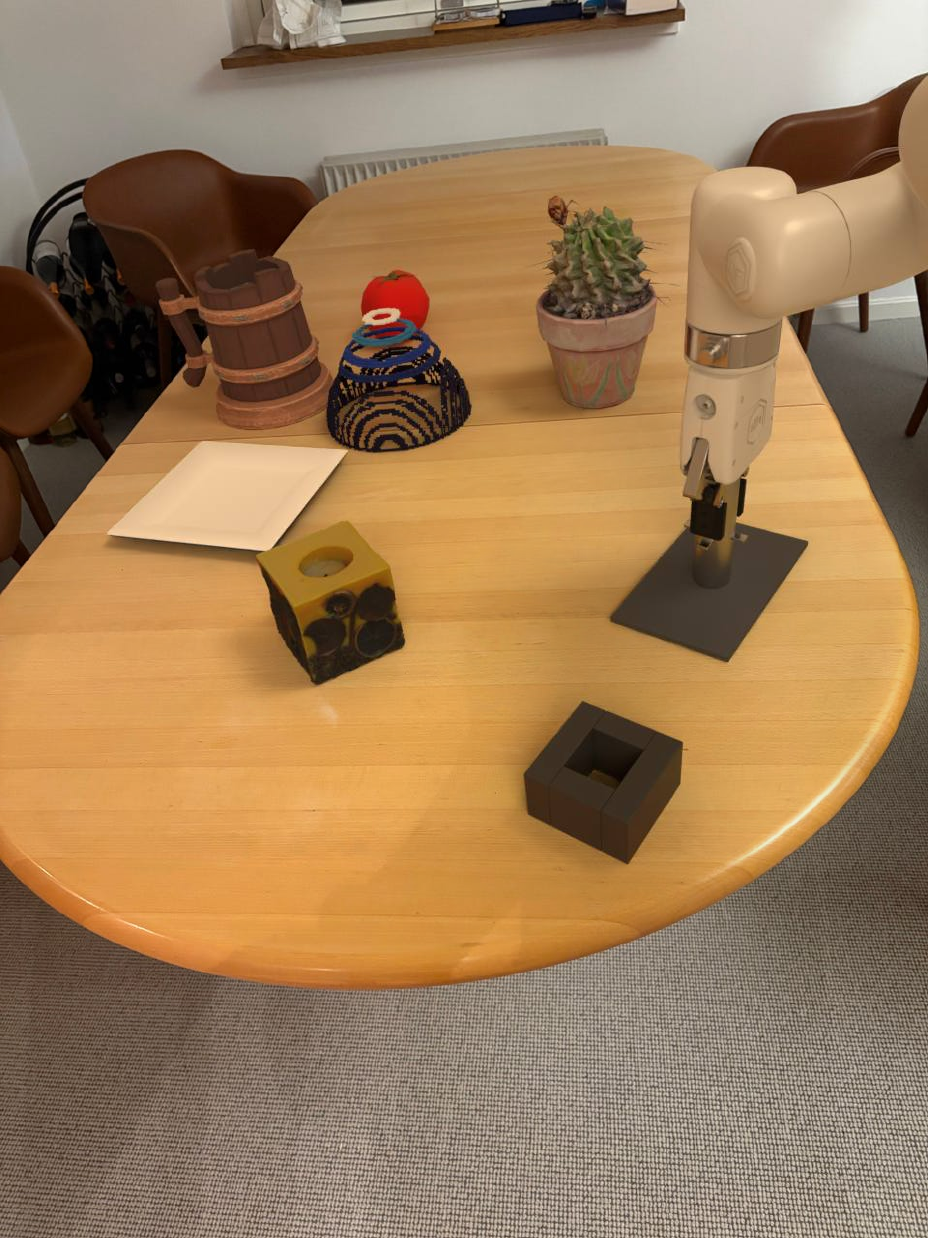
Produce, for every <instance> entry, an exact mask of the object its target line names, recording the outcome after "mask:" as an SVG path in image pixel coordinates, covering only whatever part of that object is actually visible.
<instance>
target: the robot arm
mask: <svg viewBox="0 0 928 1238" xmlns="http://www.w3.org/2000/svg"><path fill="white" fill-rule="evenodd" d="M897 145H898V153H899V154H898V156H899V160H900V161H899V162H897V163H895V164H893V165H892V166H890V167H888V168H886V169H884V170H883V171H880V172H877V173H875V174H871V175H868V176H864V177H860V178H856V179H851V180H847V181H842V182H838V183H835V184H830V185H827V186H823V187H819V188H816V189H812V190H808V191H805V192H802V193H798V191H797V185H796V183H795V181H794V180H793V178H792V177H791V175H789V174H787V173H786V172H785V171H783V170H779V169H776V168H772V167H765V166H742V167H741V166H740V167H732V168H728V169H723V170H720V171H717V172H714V173H712V174H710V175H708V176H706V177H704V178H703V179H702V180H701V181H700V182H699V183H698V184H697V185H696V187H695V189H694V191H693V193H692V198H691V201H690V202H691V203H690V215H689V216H690V218H689V219H690V220H689V238H688V239H689V242H688V265H687V285H686V287H687V288H686V307H685V308H686V309H685V323H684V325H685V326H684V345H683V346H684V347H683V358H684V359H683V360H684V361H685V363H686V364H688V366H689V367H688V372H687V378H686V385H685V390H684V391H685V392H684V399H683V405H682V415H681V424H680V435H679V469H680V471H681V474H682V475H684V476H686V478H685V482H684V486H683V489H682V497H683V498H687V499H689V501H690V503H691V504H690V519H689V520H690V532H691V533H692V534H695V535H698V536H702V537H706V538H709V539H713V540H716V541H721V540H722V539H723V537H724V535H725V524H726V513H727V503H726V502H723V501H724V494H725V488H726V485H729V484H732V483H733V482H735V481H736V480H737V479H738V478H739V477H740V476H741V477H740V487H739V497H738V507H737V517H736V518H739V517H741V516H742V515H743V514H744V512H745V501H746V493H747V492H746V491H747V482H748V479H747V478H746V477H747V476H748V474H749V472H750V466H751V465H752V463H753V462H754V461H755V460H756V458H757V457H758V456H759V455H760V454H761V453H762V451H764V449H765V447H766V446H767V445H768V443H769V441H770V439H771V437H772V433H773V423H774V411H775V395H776V380H777V361H778V358H779V355H780V346H781V345H780V344H781V336H782V330H783V329H782V328H783V321H784V318H785V317H788V316H792V315H796V314H799V313H802V312H806V311H810V310H813V309H817V308H821V307H823V306H825V305H828V304H831V303H834V302H835V303H836V302H838V301H842V300H847V299H849V298H852V297H857V296H859V295H862V294H867V293H871V292H873V291H877V290H882V289H884V288H885V289H886V288H888V287H890V286H894V285H896V284H899V283H901V282H904V281H906V280H909V279H912V278H913V277H915V276H917V275H919V274H921V273H924V272H926V271H927V270H928V74H927V75H926V76H925V77H924V78H923V79H922V80H921V82H920V83H919V84H917V87H916V88H915V89H914V91H913V92H912V93H911V96H910V97H909V99H908V101H907V103H906V105H905V107H904V109H903V112H902V115H901V118H900V123H899V130H898V144H897ZM708 466H710V468H708ZM705 479H708V480H712V481H716V485H715V491H714V490H713V489H712V488H711V487H707V486H704V481H705Z"/></svg>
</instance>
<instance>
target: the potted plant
mask: <svg viewBox="0 0 928 1238" xmlns="http://www.w3.org/2000/svg"><path fill="white" fill-rule="evenodd" d="M572 203H575V204H576V205H579V206H580V204H579V203H578V202H576V201H574V200H573V199H570V201H569V202H568V204H567V205H566V202H565V200H564V199H563V198H562V197H560V196H558V195H554V196H552V197H550V198H549V199H548V203H547V204H548V205H547V214H548V216H549V217H550V222H551V223H552V224H554V225H555V226H556V227H558V228H559V229H560V230H562V232H563V238H562V240H555V239H552V240H551V241H550V242H548V243H547V242H546V245H549V246H551V247H550V249H551V251H548V252H547V254H550V253H551V257H552V258H551V259H548V260H546V261H545V260H544V261H543V262H539V263H535V264H532V265H529V266H526V267H523V268H521V269H518V270H517V272H518V271H520V270H524V269H527V268H529V267H533V266H536V265H540V264H544V263H547V262H548V263H547V266H545V267H543V268H541V269H539V271H541V270H544V269H545V270H546V269H548V270H550V271H551V272H550V273H547V274H546V276H548V275H553V274H554V275H555V277H554V278H553V279H552V280H551V282H550V283H549V282H547V286H545V287H544V290H545V291H543V292H542V293H541V295H540V296H539V297H538V298H537V300H536V303H535V311H536V317H537V323H538V330H539V333H540V334H539V335H540V337H541V338H542V341H544V342H545V343H546V345H547V348H548V352H549V356H550V359H551V362H552V365H553V369H554V373H555V376H556V379H557V382H558V385H559V388H560V392H561V395H562V398H563V400H564V401H565V402H566V403H568V404H569V405H571V406H574V407H577V408H582V409H591V410H592V409H594V410H598V409H603V408H604V409H605V408H610V407H613V406H618V405H622V404H623V403H624V402H626V401H627V400H630V399H631V397H632V396H633V394H634V392H635V390H636V389H635V388H636V385H637V381H638V377H639V373H640V369H641V365H642V361H643V357H644V352H645V349H646V345H647V341H648V338H649V335H650V334H651V333H652V332H654V327H655V320H656V312H657V306H658V305H657V304H658V301H660V302H661V303H663V300H662V299H669V301H671V299H670V298H669V297H668V296H664V297H663V296H660V297H658V293H657V292H656V290H655V288H654V286H653V285H656V284H657V285H658V284H659V285H660V284H661V285H662V284H663V285H665V284H666V283H664V282H663V283H662V282H651V280H652V279H651V278H648V279H646V278H643V277H642V276H641V275H640V274H641V273H643V272H645V273H647V274H648V272H652V273H654V274H657V275H659V273H657V272H656V271H652V270H651V269H647V267H648V265H647V263H645V262H644V260H642V259H641V258H640V257H639V256H638V255H640V254H641V253H644V254H647V252H646V251H643V250H644V249H645V250H654V251H657V249H656V248H651V247H649V246H645V243H648V241H647V240H643V237H641V236H635V234H634V230H633V225H634V224H633V223H634V221H633V220H634V219H632V217H631V216H629V217H628V218H622V219H618V218H616V217H615V215H614V212H613V210H612V209H611V208H608V207H607V206H605V205H604V207H603V210H602V214H599V215H596V213H595V212H594V211H593V209H592V208H591V207H589V210H588V209H587V210H586V211H585V212H584V214H583V215H582V214H581V213H579V212H578V211H575V210H572V211H571V209H570V208H569V206H570V205H571V204H572ZM568 208H569V209H568ZM571 212H573V213H574V214H573V219H572V217H570V218H571V223H570V225H567V220H568V214H570V216H572V213H571ZM574 218H576V220H575V219H574ZM649 243H652V244H654V241H649ZM658 244H659V245H662V243H661V242H660V243H659V242H657V245H658ZM665 245H666V246H667V245H669V244H667V243H665ZM658 251H660V252H661V250H659V249H658ZM554 252H555V253H556V254H555V255H554ZM665 253H667V254H668V252H666V251H665ZM669 285H672V286H675V284H673V283H671V284H670V283H669ZM676 286H678V287H680V284H679V285H678V284H676ZM664 305H665V306H667V304H666V303H664ZM667 307H668V306H667Z"/></svg>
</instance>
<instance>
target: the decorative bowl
mask: <svg viewBox="0 0 928 1238" xmlns="http://www.w3.org/2000/svg"><path fill="white" fill-rule="evenodd" d="M385 313H389V314H391V317H388V318H384V319H380V320H374V319H373V318H372V317H374V316H375V315H377V314H385ZM399 317H400V312H399V309H398V310H397V309H395V308H392V309H390V308H384V309H378V310H372V311H369V313H367V314H366V315H364V317H362V323H363V322H364V324H362V325H361V326H359V328H358V329H356V330H355V332H352V334H351V338H352V339H351V341H350V342H349V343H348V344H347V345H346V346H345V347H344V349H343V352H342V356H341V357H340V360H339V363H338V369H337V374H336V376H335V377H334V378H333V379H334V382H333V384H332V386H331V387H330V389H329V392H328V393H329V395H328V403H327V405H328V406H327V407H326V408H325V410H326V411H325V418H326V426H327V430H328V433H329V435H330V438H331V439H334V442H336V443H338V444H339V445H342V447H345V448H347V449H353V450H354V451H358V452H362V451H365V452H367V453H373V454H375V453H387V452H388V453H389V452H400V451H401V452H403V451H409V450H415V449H416V448H420V447H426V446H428V445H429V446H430V444H432V443H436V442H438V441H440V440H444V439H445V437H447V436H451V434H453V433H456V432H457V431H458V430H459V429H460V428H461V427H463V426H464V424H465V422H467V420H469V416H471V413H472V404H471V399H470V393H469V390H468V389H467V386H466V382H465V379H464V378H463V377H461V375H460V372H459V370H458V369H457V368H456V367H455V365H454V364H453V363H452V361H451V360H450V359H447V357H446V356H444V357H443V358H442V362H441V361H440V360H441V354H442V350H441V349H440V347H439V345H438V344H437V343H435V341H433V340H432V339H431V336H430V335H429V334H427V333H426V332H424V330H421V329H420V330H419V329H417V327H415V325H414V323H412V321H409V320H407V319H405V320H404V319H399ZM390 322H399V323H402V324H403V323H404V324H405V325H406V327H401V326H399V327H388V328H382V329H378V330H374V331H370V330H369V331H367V332H366V331H365V330H367V329H369V328H368V327H371V326H374V325H384V324H386V323H390ZM366 324H367V325H366ZM364 331H365V332H364ZM398 331H400V332H404V333H402V334H400V335H392V336H383V337H378V338H377V337H375V338H371V337H374V336H375V335H377V334H385V333H387V332H398ZM414 333H416V334H415V335H413V334H414ZM408 340H409V341H419V342H420V343H419V344H418V346H417V347H413V346H412V345H410V346H407V345H402V346H392V347H391V345H395V344H400V343H402V342H405V341H408ZM354 345H355V346H354ZM385 346H389V347H387V348H382V350H379V351H378V352H374V353H373V355H372V356H369V357H365V358H363V357H361V356H359V355H356V354H354V353H355V352H358V350H362V349H364V348H365V347H371V348H373V347H374V348H375V347H385ZM431 347H432V349H433V351H432V354H431V352H428V350H430V349H431ZM344 362H346V363H348V364H349V365H348V364H344ZM352 366H355V367H357V368H360V372H357V373H355V372H354V370H353V368H352ZM390 369H391V370H390ZM389 370H390V371H389ZM387 372H388V373H387ZM437 374H438V375H437ZM426 376H428V378H430V382H429V380H427V377H426ZM433 377H434V378H433ZM438 377H439V379H438ZM407 379H412V380H413V381H404V382H402V381H403V380H407ZM348 381H351V382H350V383H348ZM400 381H401V382H400ZM384 383H385V384H384ZM341 384H342V386H343V388H342V387H341ZM357 385H358V386H357ZM426 385H427V386H432V387H439V394H440V395H439V397H440V406H442V407H440V410H441V419H440V413H438V410H435V406H433V405H432V404H430V403H428V400H427V399H425V398H424V397H423V398H421V396H419V394H413V393H412V394H410V391H408V390H407V389H403V390H400V391H395V390H394V389H391V390H385V389H389V388H399V387H402V386H403V387H405V386H426ZM364 386H365V388H364ZM448 391H449V392H448ZM334 392H335V393H334ZM352 392H353V394H352ZM446 393H449V400H448V394H446ZM397 395H400V397H406V398H411V400H413V401H409V402H408V400H404V399H403V398H398V399H397V398H396V400H385V401H384V400H383V401H373V400H372V401H366V400H369V399H370V398H372V397H373V398H385V397H395V396H397ZM355 401H356V402H355ZM448 401H449V403H448ZM458 401H459V402H458ZM350 403H353V404H352V405H351V406H350V407H349V408H348V410H347V411H346V412H345V414H344V415H343V419H342V422H340V415H339V414H340V413H341V411H342V410H343V409H344V408H345V407H347V406H348V405H349V404H350ZM364 403H365V404H364ZM458 403H459V405H458ZM391 404H394V405H395V406H400V408H402V409H403V408H404V409H405V410H407V411H408V412H409V413H414V415H416V416H417V417H419V418H420V419H421V420H423V423H424V424H426V427H429V428H428V429H429V433H427V430H426V429H424V427H421V424H420V423H419V422H417V421H416V420H414V418H412V417H409V415H407V412H405V411H404V410H402V411H401V409H396V407H392V408H378V409H374V411H372V408H375V407H376V406H381V405H391ZM415 404H418V405H415ZM448 404H449V406H448ZM453 404H454V405H453ZM356 406H359V407H357V409H355V407H356ZM417 406H420V408H422V409H423V410H421V409H419V407H417ZM424 410H425V411H424ZM449 410H450V418H449ZM367 411H371V412H370V413H366V414H365V416H363V417H362V418H360V420H358V421H357V422H356V423H355V420H357V418H358V417H359V416H360V415H361V414H362V415H363V412H364V413H365V412H367ZM426 411H427V412H426ZM354 412H355V413H354ZM352 413H353V414H352ZM447 413H448V414H447ZM390 414H391V417H396V416H397V418H402V420H405V419H406V424H408V425H409V426H411V427H413V429H416V430H418V434H421V435H420V436H421V438H423V441H422V442H421V443H419V439H418V436H417V437H416V435H414V432H413V431H411V430H409V429H408V428H407V427H406V426H404V425H400V424H399V423H397V422H396V421H394V422H381V423H378V424H377V425H374V427H370V429H369V430H368V431H367V433H365V435H364V439H363V440H362V441H363V446H364V447H361V446H360V442H361V439H362V435H363V431H364V429H365V426H366V424H368V423H369V422H371V421H372V420H375V418H380V417H381V416H386V415H387V416H388V415H390ZM427 414H428V415H429V416H430V417H431V416H432V418H434V419H435V421H433V420H431V419H430V420H429V416H427ZM351 415H352V416H351ZM348 419H349V420H348ZM450 421H451V422H450ZM434 422H435V425H437V428H438V429H440V433H438V431H437V430H435V425H434ZM443 422H444V424H443ZM345 424H346V425H345ZM450 424H451V426H450ZM354 425H355V427H354V431H353V433H352V434H353V435H352V434H351V430H353V427H352V426H354ZM386 428H387V429H388V428H396V429H397V430H399V431H401V433H405V434H406V436H408V437H409V438H410V440H411V444H408V443H406V438H404V437H403V436H401V435H400V434H399V433H398V432H397V433H384V434H379V436H376V437H375V438H373V439H374V440H373V442H372V446H371V447H370V444H369V443H370V442H371V438H372V436H371V435H375V433H376V432H377V431H380V429H386ZM340 432H341V433H340ZM345 434H346V435H345ZM429 434H430V435H429ZM431 435H432V436H431ZM351 438H352V439H351ZM346 440H347V441H346ZM351 440H352V443H353V445H352V443H351ZM389 441H390V442H391V441H392V443H394V444H395V445H397V446H399V447H395V448H382V446H383V445H384V444H385V443H386V442H389Z"/></svg>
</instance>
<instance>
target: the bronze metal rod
mask: <svg viewBox="0 0 928 1238" xmlns="http://www.w3.org/2000/svg"><path fill="white" fill-rule="evenodd" d="M708 468H710V466H708ZM740 477H741V476H740ZM740 477H739V478H738V479H737V480H736V481H735V482H733V483H732V484H729V485H726V488H725V494H724V501H723V502H726V503H727V513H726V524H725V535H724V537H723V539H722V540H721V541H716V540H713V539H709V538H706V537H702V536H698V535H696V539H695V555H694V570H693V578H694V581H695V582H696V583H697V584H699V585H700V586H703V587H706V588H720V587H723V586H725V585H726V584H728V583H729V581H730V578H731V568H732V558H733V548H734V541H736V542H740V543H744V542H745V541H746V539H747V538H748V535H744V534H740V533H736V532H735V528H736V522H737V518H738V517H737V507H738V497H739V487H740ZM741 478H742V477H741ZM715 485H716V481H712V480H708V479H705V481H704V486H707V487H711V488H712V489H713V490H714V491H715ZM683 528H685V529H686V528H689V529H690V519H688V520H687V521H686V522H685V523H684V525H683Z"/></svg>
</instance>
